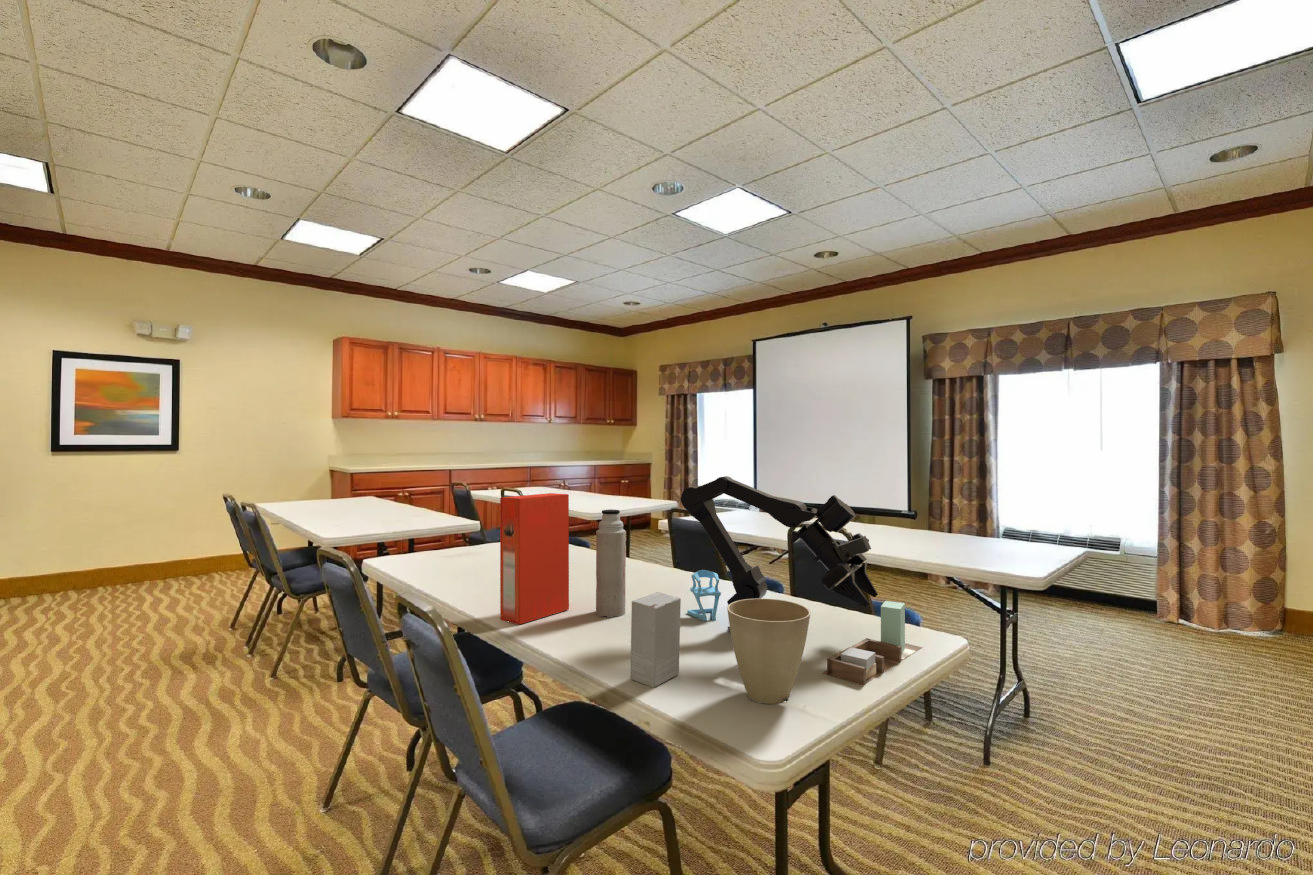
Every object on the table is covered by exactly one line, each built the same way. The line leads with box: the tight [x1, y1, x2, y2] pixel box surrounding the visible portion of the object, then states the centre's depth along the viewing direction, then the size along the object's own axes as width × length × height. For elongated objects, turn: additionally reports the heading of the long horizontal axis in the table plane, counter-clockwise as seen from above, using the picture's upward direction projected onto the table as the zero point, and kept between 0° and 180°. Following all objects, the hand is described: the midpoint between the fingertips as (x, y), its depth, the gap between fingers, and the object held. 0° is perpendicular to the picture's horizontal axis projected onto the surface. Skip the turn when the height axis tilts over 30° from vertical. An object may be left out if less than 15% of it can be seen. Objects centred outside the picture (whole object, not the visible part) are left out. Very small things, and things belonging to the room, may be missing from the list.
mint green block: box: [880, 600, 906, 653], centre depth 131 cm, size 6×4×10 cm
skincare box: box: [629, 591, 682, 688], centre depth 118 cm, size 8×7×16 cm
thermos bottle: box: [595, 509, 627, 618], centre depth 164 cm, size 8×8×28 cm
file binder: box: [499, 492, 570, 625], centre depth 162 cm, size 8×17×32 cm, turn 143°
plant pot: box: [726, 598, 811, 705], centre depth 110 cm, size 15×15×16 cm
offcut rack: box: [821, 638, 924, 686], centre depth 126 cm, size 30×8×4 cm, turn 136°
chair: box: [687, 569, 722, 622], centre depth 161 cm, size 8×8×12 cm
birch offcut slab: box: [866, 663, 876, 680], centre depth 118 cm, size 5×5×2 cm
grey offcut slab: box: [841, 646, 875, 670], centre depth 118 cm, size 5×5×2 cm
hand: (872, 600), depth 133 cm, fingers open, 9 cm apart
